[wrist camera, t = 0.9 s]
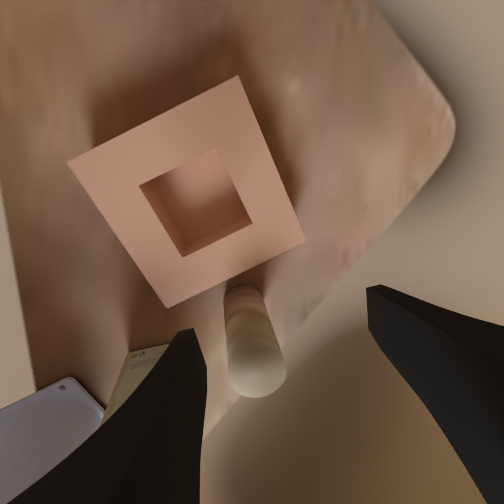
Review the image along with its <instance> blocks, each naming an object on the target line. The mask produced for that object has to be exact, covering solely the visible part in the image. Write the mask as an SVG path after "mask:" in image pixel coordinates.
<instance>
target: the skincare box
mask: <svg viewBox="0 0 504 504" xmlns="http://www.w3.org/2000/svg"><path fill="white" fill-rule="evenodd" d="M168 346H169V344H165V345H160V346H156V347H151V348H147V349H142V350H138V351H134V352H130V353H128V354H127V356H126V359H125V362H124V364H123V367H122V369H121V372H120V375H119V377H118V380H117V382H116V385H115V387H114V390H113V393H112V395H111V398H110V400H109V403H108V406H107V408H106V411H105V413H104V416H103V418H102V421H101V423H100V426H101V425H102V424H103V423H105V422H106V421H107V420H108V419H109V418H110V417H111V416H112V415H113V414H114V413H115V411H116V410H117V409H118V408H119V407H120V406H121V405H122V404H123V403H124V402H125V401H126V400H127V399H128V397H129V396H130V395H131V394H132V393H133V392H134V391H135V389H136V388H137V387H138V386H139V384H140V383H141V382H142V381H143V379H144V378H145V377H146V376H147V374H148V373H149V372H150V371H151V369H152V368H153V367H154V365H155V364H156V363H157V361H158V360H159V358H160V357H161V356H162V354H163V353H164V351H165V350H166V349H167V347H168ZM100 426H99V427H100Z"/></svg>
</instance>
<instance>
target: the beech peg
mask: <svg viewBox="0 0 504 504" xmlns="http://www.w3.org/2000/svg"><path fill="white" fill-rule="evenodd" d="M224 317H225V332H226V346H227V360H228V374H229V382H230V385H231V387H232V388H233V389H234V390H235V391H236V392H237V393H238V394H240V395H243V396H246V397H251V398H257V397H263V396H266V395H268V394H271V393H272V392H274V391H276V390H277V389H278V388H279V387H280V386H281V385H282V383H283V382H284V380H285V378H286V373H287V369H286V365H285V362H284V359H283V356H282V353H281V350H280V347H279V344H278V341H277V338H276V336H275V333H274V330H273V327H272V324H271V321H270V318H269V315H268V312H267V310H266V307H265V304H264V301H263V298H262V295H261V293H260V292H259V291H258V290H257V289H256V288H255V287H253V286H250V285H238V286H236V287H234V288H232V289H231V290H229V291H228V293H227V294H226V296H225V298H224Z"/></svg>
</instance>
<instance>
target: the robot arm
mask: <svg viewBox="0 0 504 504" xmlns="http://www.w3.org/2000/svg"><path fill="white" fill-rule="evenodd" d="M366 294H367V311H368V328H369V330H370V332H371V333H372V335H373V337H374V339H375V341H376V342H377V344H378V345H379V347H380V348H381V350H382V351H383V352H384V354H385V355H386V357H387V358H388V359H389V360H390V362H391V363H392V364H393V365H394V367H395V368H396V369H397V370H398V372H399V373H400V374H401V375H402V377H403V378H404V379H405V380H406V382H407V383H408V384H409V385H410V387H411V388H412V389H413V390H414V392H415V393H416V394H417V395H418V396H419V398H420V399H421V400H422V402H423V403H424V404H425V406H426V407H427V409H428V410H429V412H430V413H431V414H432V416H433V417H434V419H435V421H436V422H437V423H438V425H439V427H440V428H441V430H442V431H443V433H444V434H445V436H446V437H447V439H448V440H449V442H450V444H451V445H452V447H453V448H454V450H455V451H456V453H457V455H458V456H459V458H460V459H461V461H462V463H463V464H464V466H465V467H466V469H467V471H468V473H469V474H470V476H471V478H472V479H473V481H474V482H475V484H476V486H477V488H478V489H479V491H480V493H481V494H482V496H483V498H484V499H485V501H486V502H487V504H504V326H501V325H497V324H494V323H490V322H486V321H483V320H479V319H475V318H472V317H469V316H465V315H462V314H459V313H456V312H453V311H450V310H447V309H444V308H442V307H439V306H436V305H433V304H431V303H428V302H425V301H423V300H420V299H418V298H415V297H412V296H410V295H407V294H405V293H402V292H400V291H397V290H395V289H392V288H389V287H387V286H384V285H377V286H372V287H368V288H366ZM62 385H64V386H65V387H64V386H62ZM206 398H207V366H206V363H205V360H204V358H203V355H202V352H201V349H200V346H199V343H198V340H197V337H196V334H195V331H194V328H191V329H187V330H183V331H179V332H178V333H177V334H176V336H175V337H174V339H173V340H172V341H171V343H170V344H169V346H168V347H167V349H166V350H165V351H164V353H163V354H162V356H161V357H160V358H159V360H158V361H157V363H156V364H155V365H154V367H153V368H152V369H151V371H150V372H149V373H148V374H147V376H146V377H145V378H144V379H143V381H142V382H141V383H140V384H139V386H138V387H137V388H136V389H135V391H134V392H133V393H132V394H131V395H130V396H129V397H128V399H127V400H126V401H125V402H124V403H123V404H122V405H121V406H120V407H119V408H118V409H117V410H116V411H115V413H114V414H113V415H112V416H111V417H110V418H109V419H108V420H107V421H106V422H105V423H103V424H102V425H101V426H100V423H101V421H102V418H103V416H104V413H105V410H104V409H103V408H102V407H101V406H100V405H99V404H98V403H97V402H96V401H95V400H94V399H93V397H92V396H91V395H90V394H89V393H88V392H87V391H86V390H85V389H84V388H83V387H82V386H81V385H80V384H79V383H78V381H77V380H76V379H74V378H72V377H67V378H64V379H62V380H60V381H58V382H56V383H54V384H52V385H50V386H48V387H46V388H44V389H42V390H40V391H37V392H35V393H33V394H31V395H29V396H27V397H25V398H23V399H21V400H19V401H17V402H15V403H13V404H11V405H9V406H6V407H4V408H3V409H0V504H200V457H201V445H202V436H203V427H204V417H205V408H206ZM99 426H100V427H99Z"/></svg>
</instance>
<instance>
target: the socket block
mask: <svg viewBox="0 0 504 504" xmlns="http://www.w3.org/2000/svg"><path fill="white" fill-rule="evenodd" d="M67 164H68V165H69V167H70V168H71V170H72V171H73V173H74V174H75V175H76V177H77V178H78V180H79V181H80V183H81V184H82V186H83V187H84V189H85V190H86V192H87V193H88V194H89V196H90V197H91V199H92V200H93V202H94V203H95V205H96V206H97V208H98V209H99V211H100V212H101V213H102V215H103V216H104V218H105V219H106V221H107V222H108V224H109V225H110V227H111V228H112V230H113V231H114V232H115V234H116V235H117V237H118V238H119V240H120V241H121V243H122V244H123V246H124V247H125V249H126V250H127V251H128V253H129V254H130V256H131V257H132V259H133V260H134V262H135V263H136V265H137V266H138V268H139V269H140V270H141V272H142V273H143V275H144V276H145V278H146V279H147V281H148V282H149V284H150V285H151V287H152V288H153V289H154V291H155V292H156V294H157V295H158V297H159V298H160V300H161V301H162V303H163V304H164V306H165V307H166V308H167V309H168V308H170V307H172V306H174V305H176V304H178V303H180V302H182V301H184V300H186V299H188V298H191V297H193V296H195V295H197V294H199V293H201V292H203V291H205V290H207V289H209V288H211V287H213V286H215V285H217V284H219V283H221V282H223V281H226V280H228V279H230V278H232V277H234V276H236V275H238V274H240V273H242V272H244V271H246V270H248V269H250V268H252V267H254V266H256V265H258V264H261V263H263V262H265V261H267V260H269V259H271V258H273V257H275V256H277V255H279V254H281V253H283V252H285V251H287V250H289V249H291V248H293V247H296V246H298V245H300V244H302V243H304V242H306V239H305V236H304V234H303V231H302V229H301V227H300V224H299V222H298V219H297V217H296V214H295V212H294V210H293V207H292V205H291V202H290V200H289V197H288V195H287V193H286V190H285V188H284V185H283V183H282V180H281V178H280V176H279V173H278V171H277V168H276V166H275V163H274V161H273V159H272V156H271V154H270V151H269V149H268V146H267V144H266V142H265V139H264V137H263V134H262V132H261V130H260V127H259V125H258V122H257V120H256V117H255V115H254V113H253V110H252V108H251V105H250V103H249V100H248V98H247V96H246V93H245V91H244V88H243V86H242V83H241V81H240V79H239V76H238V75H237V76H235V77H233V78H231V79H229V80H227V81H225V82H224V83H222V84H220V85H218V86H216V87H214V88H212V89H210V90H208V91H206V92H204V93H202V94H200V95H198V96H196V97H194V98H192V99H190V100H188V101H186V102H184V103H182V104H180V105H178V106H176V107H174V108H172V109H170V110H168V111H166V112H164V113H162V114H160V115H158V116H156V117H155V118H153V119H151V120H149V121H147V122H145V123H143V124H141V125H139V126H137V127H135V128H133V129H131V130H129V131H127V132H125V133H123V134H121V135H119V136H117V137H115V138H113V139H111V140H109V141H107V142H105V143H103V144H101V145H99V146H97V147H95V148H93V149H91V150H89V151H87V152H86V153H84V154H82V155H80V156H78V157H76V158H74V159H72V160H70V161H68V162H67Z"/></svg>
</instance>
